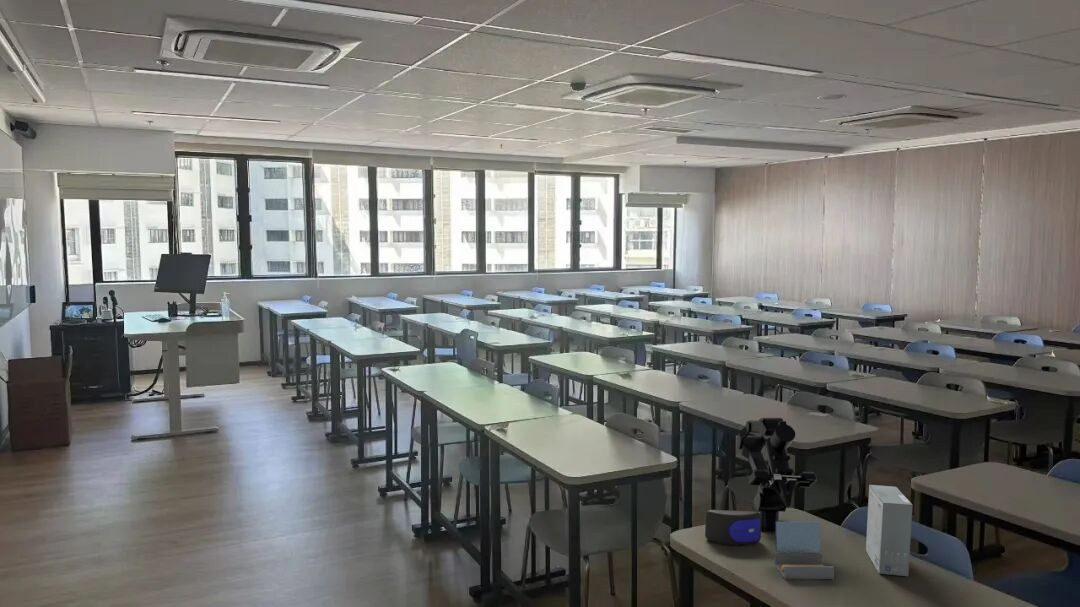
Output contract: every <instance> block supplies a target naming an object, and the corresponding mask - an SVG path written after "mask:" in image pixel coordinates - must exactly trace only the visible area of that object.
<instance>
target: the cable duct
mask: <svg viewBox="0 0 1080 607" xmlns="http://www.w3.org/2000/svg"><path fill="white" fill-rule="evenodd" d="M773 558H774V562H773V565H774V564H775V565H774V567H775V566H776V567H777V568H776V567H775V568H776V569H777V571H778V570H779V571H780V572H779V571H778V572H779V574H780V573H781V574H782V575H781V574H780V575H781V577H782V578H783V577H784V578H785V579H832V580H831V581H834V579H835V578H834V577H835V566H833V565H832V566H831V565H824V564H823V553H822V552H774V556H773ZM784 578H783V579H784ZM785 579H784V580H785Z"/></svg>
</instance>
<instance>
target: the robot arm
mask: <svg viewBox="0 0 1080 607" xmlns="http://www.w3.org/2000/svg"><path fill="white" fill-rule="evenodd" d="M750 433H752V434H753V433H755V434H757V433H759V435H750ZM766 437H769V438H767V440H766ZM795 438H796V430H794V428H793V427H792V426H791V425H789V424H787V421H786V420H784V419H783V418H782V417H761V418H759V419H757V420H755V419H754V420H751V419H749V420H747V421H746V422H745V426H744V427H743V428H742V429H741V430H740V431H739V432H738V434H737V439H736V448H737V449H738V451H739V454H741V456H742V457H744V458H745V459H747V460H748V462H749V464H750V467H751V469H752V472H751V474H750V475H749V476H748V483H749V485H750V486H758V489H757V492H756V495H755V496H754V498H753V507H754V508H755V509H756V510H757V512H759V513H760V514H761V532H767V533H768V532H769V533H775V521H779V520H780V512H782V513H784V512H786V511H787V510H786V509H787V508H790V507H791V504H792V499H793V494H794V490H795V487H796V486H798V487H799V488H806V489H807V488H812V486H813V485H815V483H816V482H818V478H817V474H816V473H815V472H814V471H801V472H800V473H799V474H798V475H796V474H795V475H793V473H794V469H793V468H791V464H790V460H791V455H789V454H788V450H787V449H788V448H789V447H790V446H791V444H792V443H793V441H794V439H795ZM764 448H766V452H767V457H768V458H767V459H768V462H766V459H765V457H764V455H763V452H764V451H763V450H764Z"/></svg>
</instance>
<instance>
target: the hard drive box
mask: <svg viewBox="0 0 1080 607" xmlns="http://www.w3.org/2000/svg"><path fill="white" fill-rule="evenodd" d="M913 505H914V504H912V502H911V501H910V500H909V499H908V498H907V497H906V496H905V495H904V494H903V492H901V491H900V489H899V488H898V487H897V486H891V485H889V486H888V485H878V484H877V485H876V484H869V486H868V503H867V518H866V520H867V522H866V540H865V544H866V545H865V552H866V553H867V555H868V557H869V559H870V560H871V562H872V563H873V566H874V567H875V569H876V571H877V573H878V574H881V575H891V576H899V577H901V576H902V577H909V573H910V572H909V571H910V570H909V569H910V556H911V553H910V552H911V540H912V521H913Z"/></svg>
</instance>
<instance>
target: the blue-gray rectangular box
mask: <svg viewBox="0 0 1080 607" xmlns="http://www.w3.org/2000/svg"><path fill="white" fill-rule="evenodd" d="M820 530H821V529H820V521H817V520H815V521H808V520H807V521H806V520H804V521H801V520H800V521H799V520H798V521H797V520H793V521H792V520H791V521H790V520H789V521H788V520H785V521H783V520H782V521H781V520H780V521H775V532H774V533H775V553H821V535H820V534H821V531H820Z"/></svg>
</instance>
